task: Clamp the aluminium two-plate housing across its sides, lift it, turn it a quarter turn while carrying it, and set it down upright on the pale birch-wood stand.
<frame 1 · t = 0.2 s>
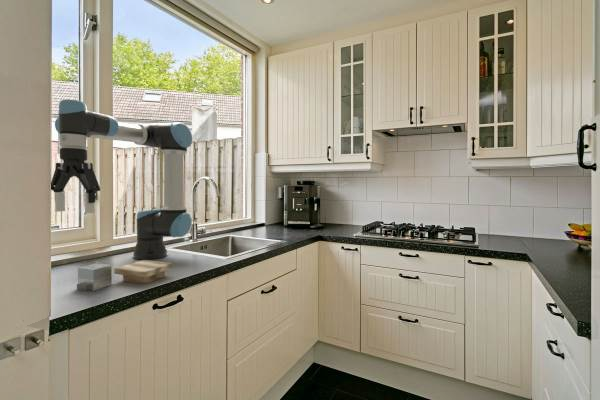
hand: (74, 212, 109), 26 cm above the worktop, fingers open, 13 cm apart
stand: (144, 278, 123), on the worktop
housing: (95, 286, 114), on the worktop
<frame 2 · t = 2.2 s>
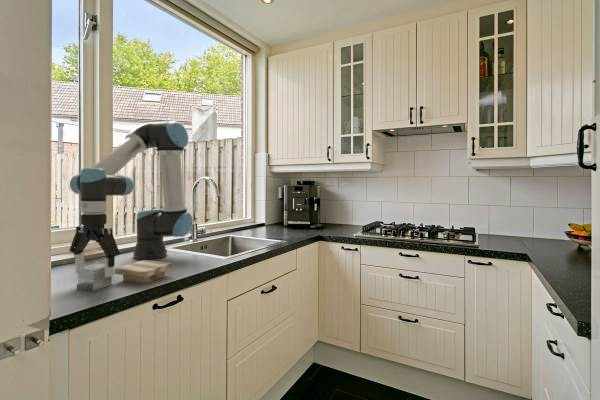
hand: (94, 274, 113), 4 cm above the worktop, fingers open, 13 cm apart
nothing on the worktop moved.
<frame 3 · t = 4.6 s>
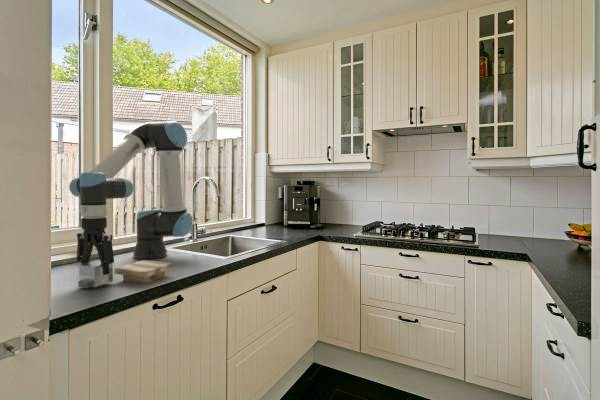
hand: (95, 282, 114), 1 cm above the worktop, fingers closed on housing, 7 cm apart
housing: (96, 282, 114), point 1 cm above the worktop, touching gripper
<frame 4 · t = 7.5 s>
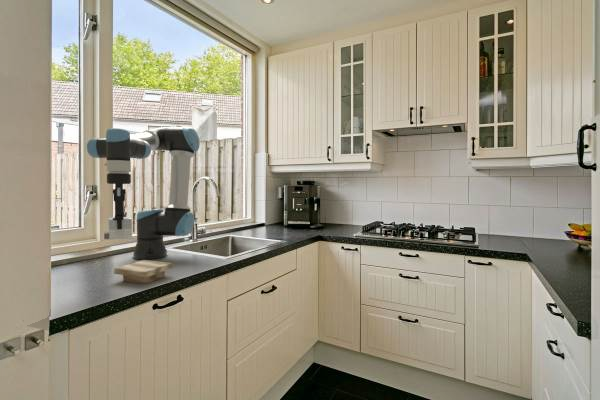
hand: (120, 236, 118), 17 cm above the worktop, fingers closed on housing, 7 cm apart
housing: (121, 237, 118), point 16 cm above the worktop, touching gripper
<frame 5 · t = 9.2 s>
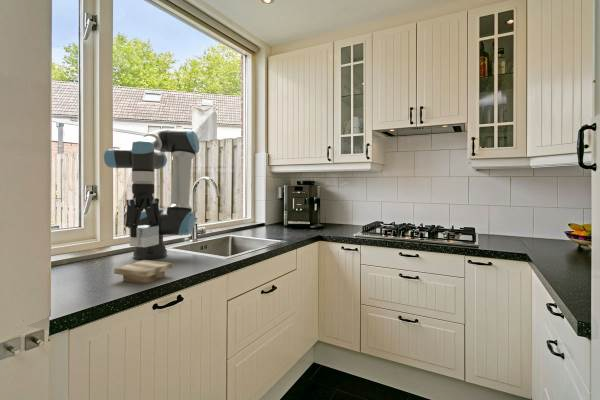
hand: (143, 244, 122), 13 cm above the worktop, fingers closed on housing, 7 cm apart
housing: (144, 245, 122), point 13 cm above the worktop, touching gripper
when the fingers open (7 cm above the worktop, at t = 10.7 s): housing drops 1 cm, resting on stand.
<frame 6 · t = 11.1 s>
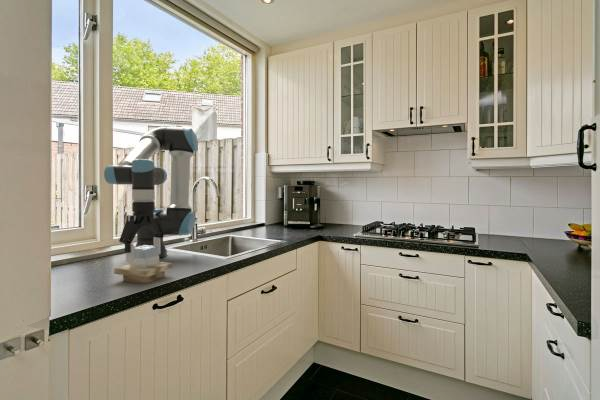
hand: (144, 257, 123), 8 cm above the worktop, fingers open, 13 cm apart
housing: (144, 265, 123), point 5 cm above the worktop, touching stand
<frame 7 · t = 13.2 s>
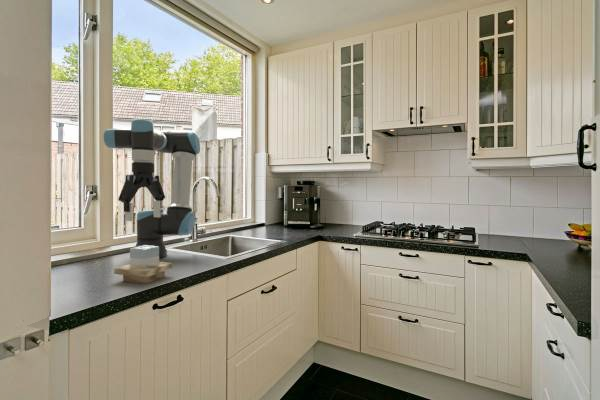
hand: (143, 219, 122), 23 cm above the worktop, fingers open, 13 cm apart
nothing on the worktop moved.
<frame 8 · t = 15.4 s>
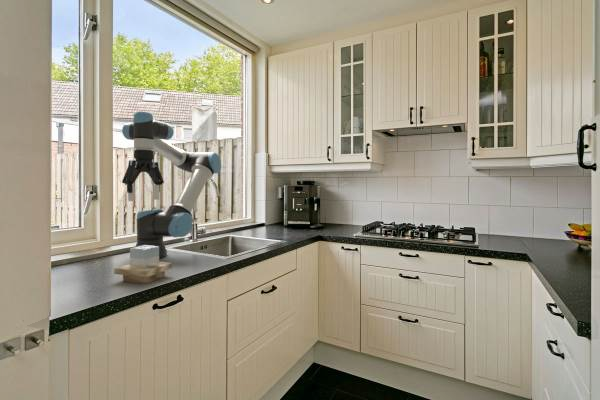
hand: (144, 200, 138), 29 cm above the worktop, fingers open, 13 cm apart
nothing on the worktop moved.
at the end: housing inside the target area on the stand (0.3 cm from its centre), point 5.0 cm above the stand's base; housing tilted 0°; housing touching stand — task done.
